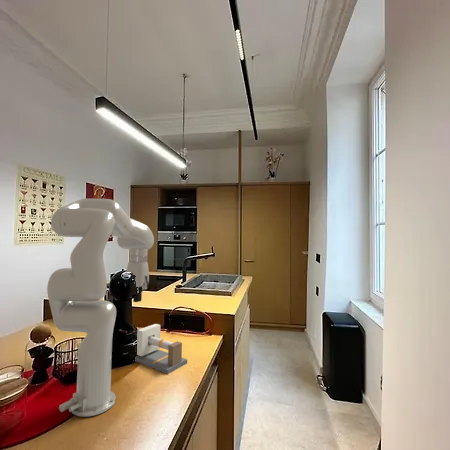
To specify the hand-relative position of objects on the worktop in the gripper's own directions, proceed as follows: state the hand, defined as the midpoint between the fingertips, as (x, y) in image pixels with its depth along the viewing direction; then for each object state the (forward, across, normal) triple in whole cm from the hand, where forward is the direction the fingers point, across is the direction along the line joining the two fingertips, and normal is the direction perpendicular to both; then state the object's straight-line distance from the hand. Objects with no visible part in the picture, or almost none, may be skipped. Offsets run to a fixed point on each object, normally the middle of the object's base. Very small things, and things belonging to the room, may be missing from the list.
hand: (137, 301), depth 127 cm
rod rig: (+22, +14, 0) cm, 26 cm away
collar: (+20, +8, 0) cm, 21 cm away
